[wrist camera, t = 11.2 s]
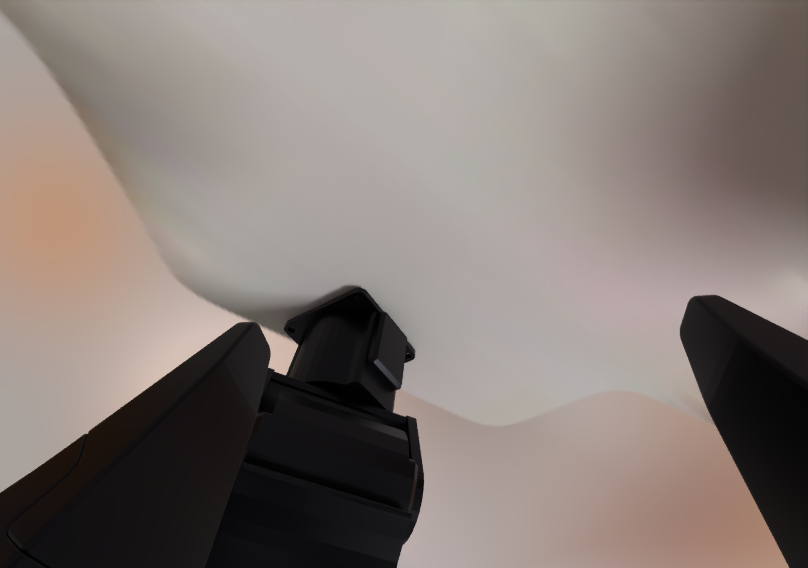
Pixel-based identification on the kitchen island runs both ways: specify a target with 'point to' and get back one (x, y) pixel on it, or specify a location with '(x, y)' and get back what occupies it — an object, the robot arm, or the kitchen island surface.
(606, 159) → the kitchen island surface
